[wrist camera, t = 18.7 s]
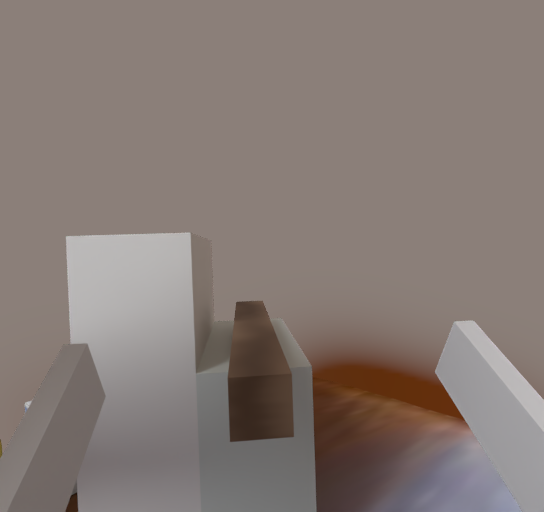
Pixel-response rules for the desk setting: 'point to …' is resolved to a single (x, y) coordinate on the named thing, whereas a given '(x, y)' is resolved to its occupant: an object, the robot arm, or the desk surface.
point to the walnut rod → (258, 378)
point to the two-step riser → (175, 386)
